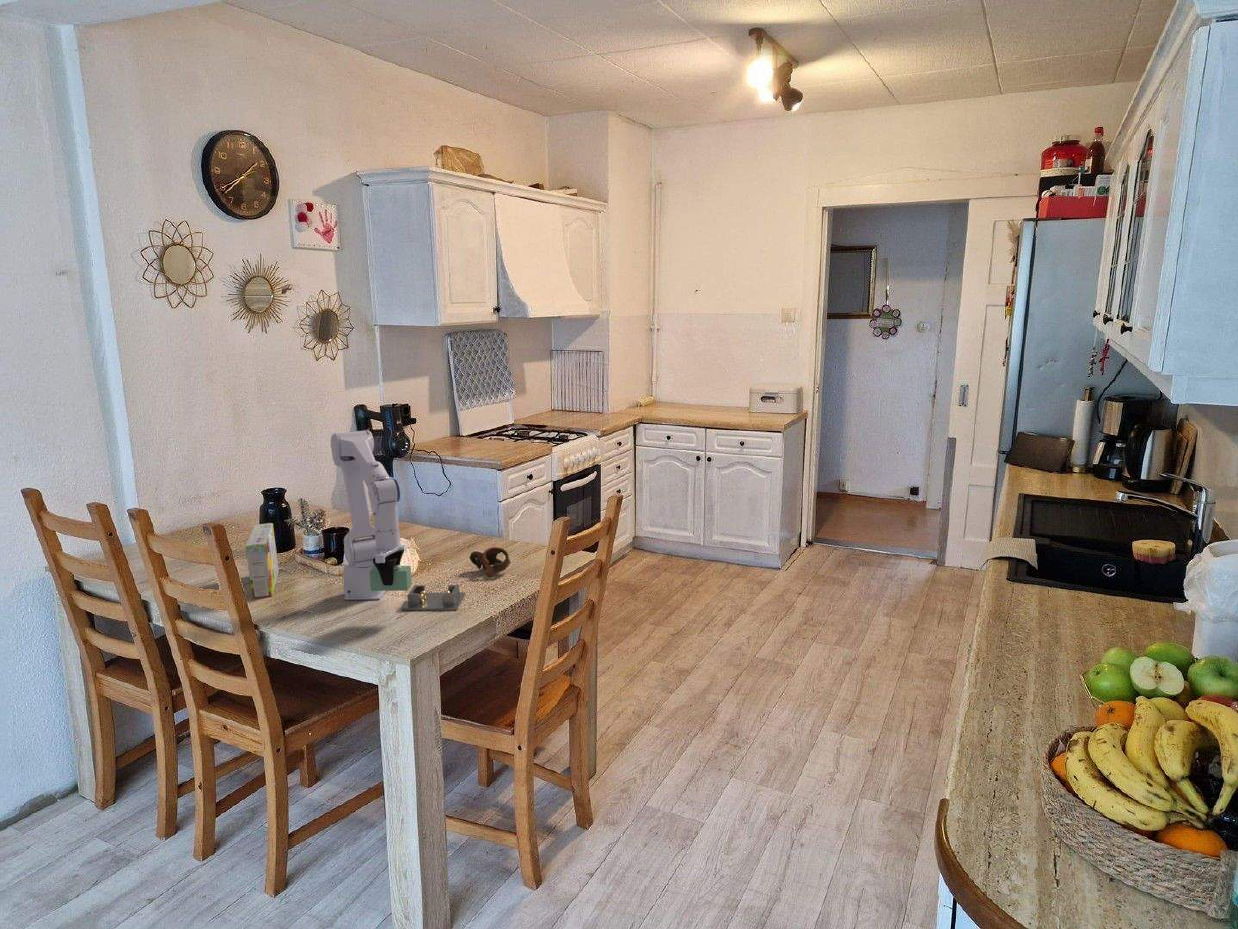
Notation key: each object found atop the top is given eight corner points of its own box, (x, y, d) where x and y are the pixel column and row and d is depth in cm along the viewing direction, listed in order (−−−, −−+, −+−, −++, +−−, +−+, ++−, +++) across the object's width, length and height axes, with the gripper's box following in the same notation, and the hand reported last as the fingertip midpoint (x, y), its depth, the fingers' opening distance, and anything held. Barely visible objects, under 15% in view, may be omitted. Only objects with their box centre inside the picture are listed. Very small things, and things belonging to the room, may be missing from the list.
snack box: (259, 574, 233) (253, 524, 230) (279, 571, 235) (274, 522, 232) (250, 599, 214) (244, 545, 210) (273, 596, 215) (267, 542, 212)
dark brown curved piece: (511, 566, 238) (514, 547, 233) (503, 590, 231) (506, 571, 226) (471, 557, 238) (474, 537, 233) (462, 580, 231) (465, 561, 226)
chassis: (402, 610, 204) (401, 597, 203) (413, 595, 215) (412, 582, 214) (457, 610, 204) (456, 597, 203) (465, 594, 215) (464, 582, 214)
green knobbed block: (370, 590, 196) (369, 568, 195) (375, 585, 200) (374, 563, 199) (407, 590, 196) (406, 568, 195) (411, 584, 200) (410, 562, 199)
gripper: (394, 537, 188) (398, 592, 191) (411, 520, 202) (414, 571, 205) (364, 537, 188) (369, 592, 191) (383, 520, 202) (386, 572, 205)
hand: (390, 581), depth 198 cm, fingers closed on green knobbed block, 4 cm apart
